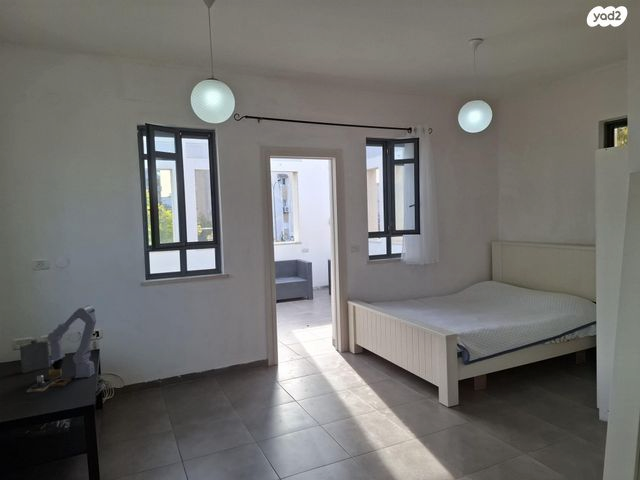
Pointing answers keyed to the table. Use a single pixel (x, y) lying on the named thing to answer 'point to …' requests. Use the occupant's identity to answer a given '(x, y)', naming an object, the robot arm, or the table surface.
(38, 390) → the socket board
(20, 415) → the table surface
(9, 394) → the table surface
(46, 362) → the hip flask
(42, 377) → the steel peg
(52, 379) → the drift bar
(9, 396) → the table surface
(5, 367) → the table surface
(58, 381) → the frame
